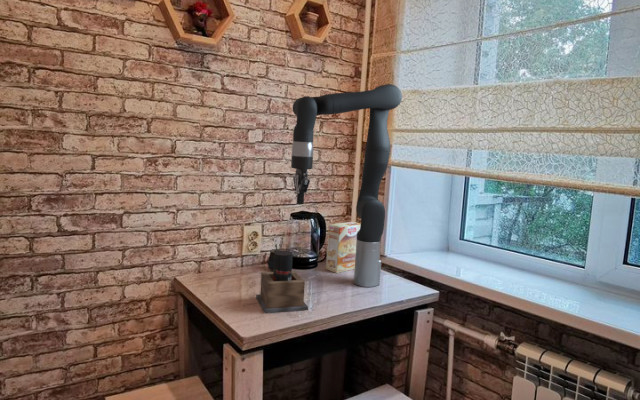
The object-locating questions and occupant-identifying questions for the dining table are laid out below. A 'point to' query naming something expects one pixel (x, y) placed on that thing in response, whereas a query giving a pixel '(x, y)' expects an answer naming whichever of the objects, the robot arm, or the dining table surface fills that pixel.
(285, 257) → the deodorant
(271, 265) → the mate gourd
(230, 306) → the dining table surface
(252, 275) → the dining table surface
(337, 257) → the coffeecake box
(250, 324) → the dining table surface
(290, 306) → the sleeve holder
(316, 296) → the dining table surface
